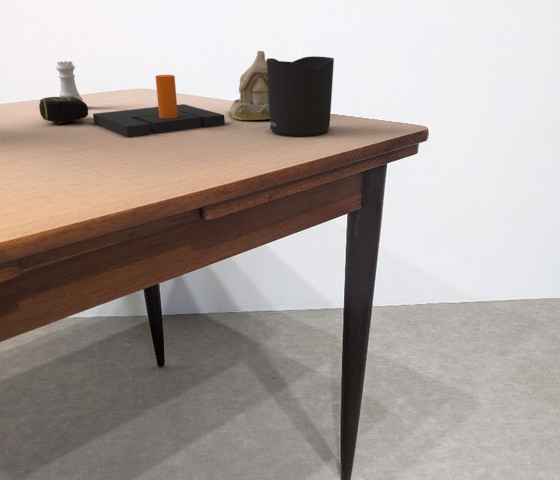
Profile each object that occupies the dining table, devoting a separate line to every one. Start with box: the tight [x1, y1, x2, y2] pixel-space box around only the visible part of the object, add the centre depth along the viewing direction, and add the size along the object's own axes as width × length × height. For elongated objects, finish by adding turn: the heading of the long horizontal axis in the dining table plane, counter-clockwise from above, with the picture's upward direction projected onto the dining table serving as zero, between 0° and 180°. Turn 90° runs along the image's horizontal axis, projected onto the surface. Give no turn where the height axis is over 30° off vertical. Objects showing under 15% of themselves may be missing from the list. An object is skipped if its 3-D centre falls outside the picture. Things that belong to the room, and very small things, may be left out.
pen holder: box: [266, 55, 335, 137], centre depth 87 cm, size 9×9×10 cm
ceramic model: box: [229, 50, 270, 121], centre depth 101 cm, size 14×11×10 cm
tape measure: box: [38, 96, 89, 125], centre depth 97 cm, size 7×7×4 cm
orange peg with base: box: [137, 74, 202, 134], centre depth 91 cm, size 8×6×8 cm
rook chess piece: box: [55, 60, 84, 102], centre depth 109 cm, size 4×4×8 cm
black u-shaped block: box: [92, 103, 226, 138], centre depth 95 cm, size 16×14×2 cm
